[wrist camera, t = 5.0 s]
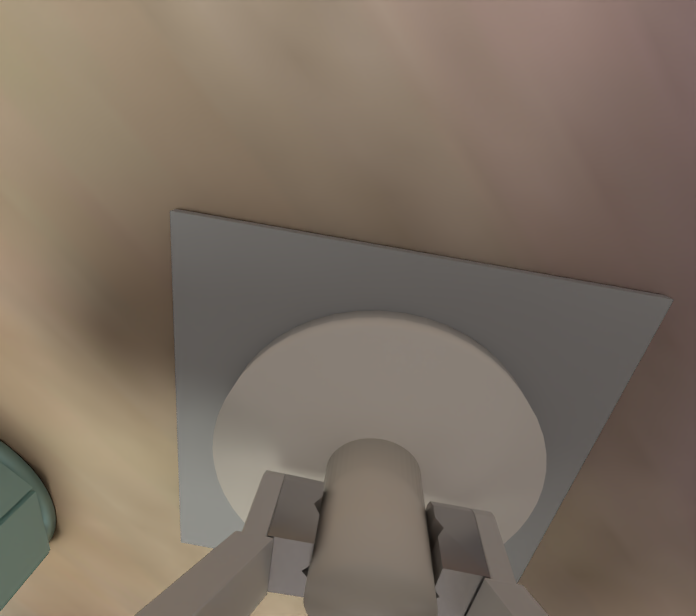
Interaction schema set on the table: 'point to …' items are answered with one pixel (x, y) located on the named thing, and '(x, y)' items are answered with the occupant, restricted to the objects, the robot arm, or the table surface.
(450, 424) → the lid
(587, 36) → the table surface
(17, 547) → the cup
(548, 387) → the mat
